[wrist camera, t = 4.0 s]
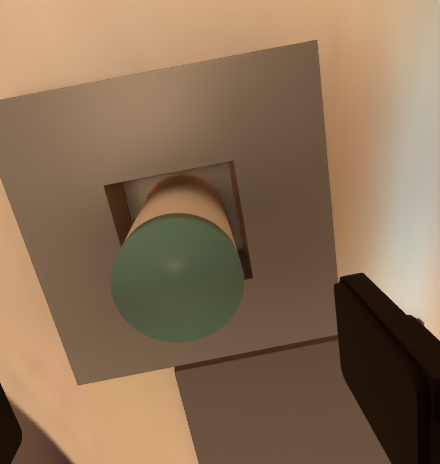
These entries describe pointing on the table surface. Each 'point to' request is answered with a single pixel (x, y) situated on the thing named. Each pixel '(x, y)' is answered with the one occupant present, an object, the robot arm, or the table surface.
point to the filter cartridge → (178, 264)
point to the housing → (166, 161)
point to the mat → (277, 408)
